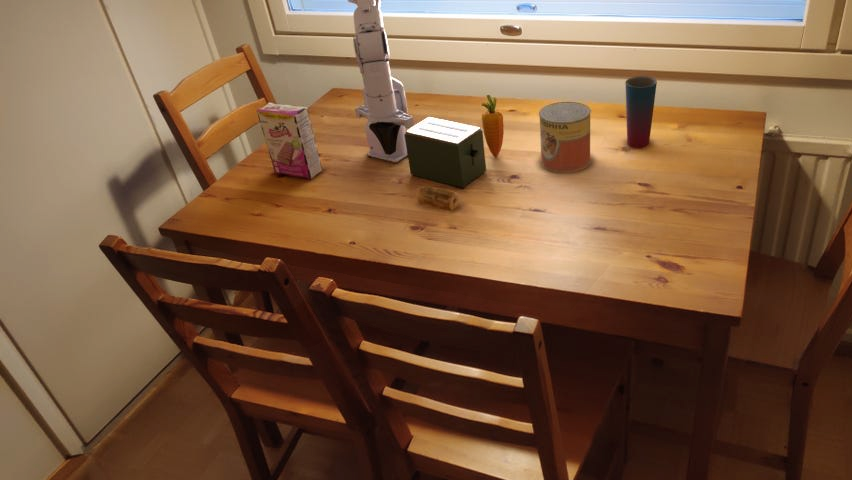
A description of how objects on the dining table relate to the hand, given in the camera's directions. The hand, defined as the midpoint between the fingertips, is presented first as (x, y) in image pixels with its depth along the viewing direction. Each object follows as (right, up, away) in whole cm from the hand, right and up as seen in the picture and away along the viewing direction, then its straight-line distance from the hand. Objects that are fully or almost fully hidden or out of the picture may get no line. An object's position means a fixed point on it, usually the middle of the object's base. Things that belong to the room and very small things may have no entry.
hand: (390, 152), depth 148 cm
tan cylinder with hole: (+11, -12, -1) cm, 16 cm away
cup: (+56, +4, +14) cm, 58 cm away
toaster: (+12, -3, +10) cm, 16 cm away
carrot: (+23, +1, +15) cm, 27 cm away
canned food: (+39, 0, +10) cm, 40 cm away
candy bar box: (-24, -2, +17) cm, 30 cm away
